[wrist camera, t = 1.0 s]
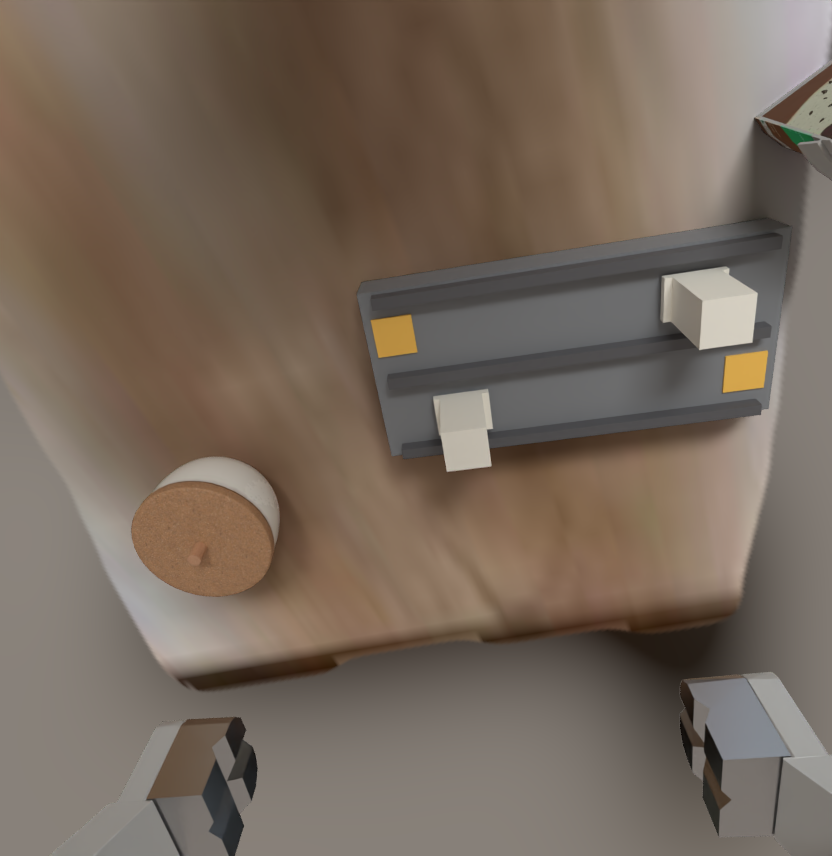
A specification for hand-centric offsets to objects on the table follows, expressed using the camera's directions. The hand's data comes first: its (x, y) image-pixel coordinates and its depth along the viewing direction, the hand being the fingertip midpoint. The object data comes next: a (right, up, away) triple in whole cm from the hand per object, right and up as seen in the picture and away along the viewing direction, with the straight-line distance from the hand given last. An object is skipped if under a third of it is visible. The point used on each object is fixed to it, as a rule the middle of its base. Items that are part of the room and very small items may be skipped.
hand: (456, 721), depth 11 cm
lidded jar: (-17, 0, +42) cm, 45 cm away
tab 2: (+17, +14, +29) cm, 36 cm away
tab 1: (+3, +7, +33) cm, 34 cm away
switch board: (+10, +12, +34) cm, 37 cm away
